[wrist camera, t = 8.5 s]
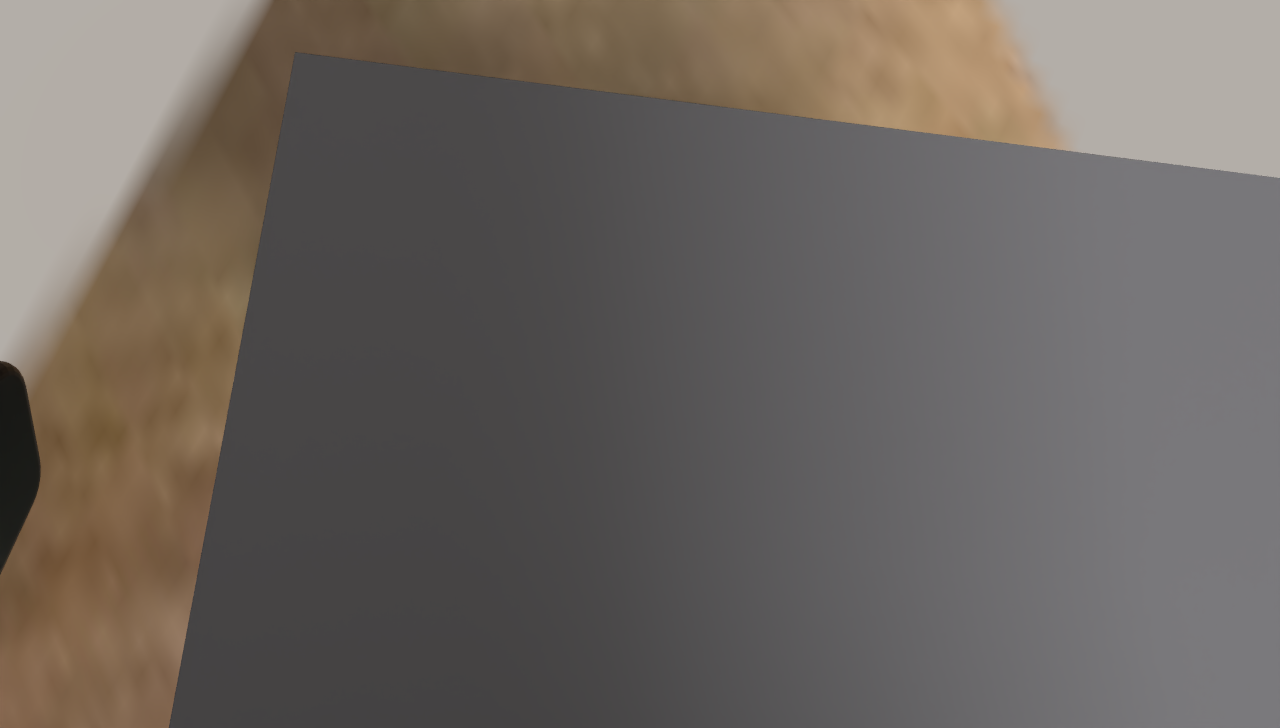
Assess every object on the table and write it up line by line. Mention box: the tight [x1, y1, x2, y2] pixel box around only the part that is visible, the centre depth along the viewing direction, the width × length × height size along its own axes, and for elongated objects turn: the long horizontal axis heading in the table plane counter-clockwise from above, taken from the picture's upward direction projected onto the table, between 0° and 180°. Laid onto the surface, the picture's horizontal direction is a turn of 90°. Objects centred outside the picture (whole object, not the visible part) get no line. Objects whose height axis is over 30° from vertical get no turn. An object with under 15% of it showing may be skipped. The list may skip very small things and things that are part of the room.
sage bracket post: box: [169, 52, 1280, 728], centre depth 10 cm, size 3×3×14 cm
